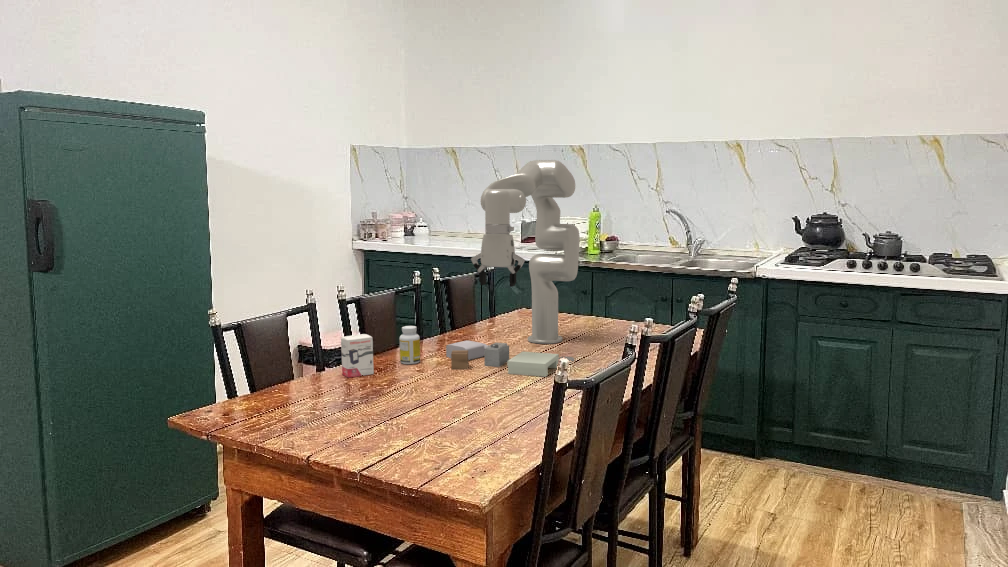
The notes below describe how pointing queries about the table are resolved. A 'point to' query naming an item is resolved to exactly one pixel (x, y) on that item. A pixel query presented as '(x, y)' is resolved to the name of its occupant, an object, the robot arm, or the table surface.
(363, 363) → the white product box
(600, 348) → the table surface
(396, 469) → the table surface
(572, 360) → the grey disc
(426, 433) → the table surface
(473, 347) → the charger
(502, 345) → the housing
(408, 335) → the pill bottle
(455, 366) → the walnut block
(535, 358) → the stand
